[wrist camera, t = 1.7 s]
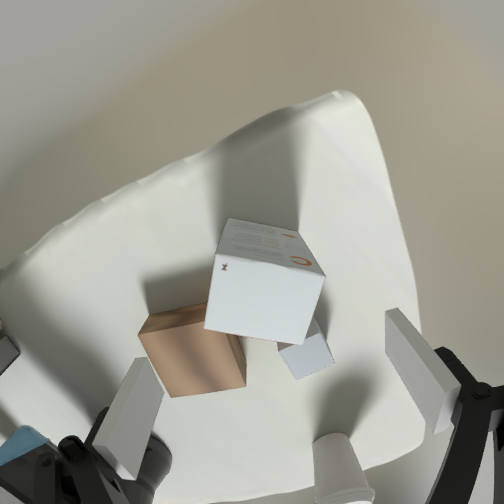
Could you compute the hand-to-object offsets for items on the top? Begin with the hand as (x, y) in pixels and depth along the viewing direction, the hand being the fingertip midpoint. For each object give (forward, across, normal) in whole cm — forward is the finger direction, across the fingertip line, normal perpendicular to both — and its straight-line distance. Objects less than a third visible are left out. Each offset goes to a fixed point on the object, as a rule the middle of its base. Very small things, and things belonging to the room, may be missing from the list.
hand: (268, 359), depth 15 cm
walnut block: (+20, -10, -10) cm, 25 cm away
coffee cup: (+20, +5, -37) cm, 42 cm away
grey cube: (+20, +3, -12) cm, 23 cm away
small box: (+20, 0, 0) cm, 20 cm away
